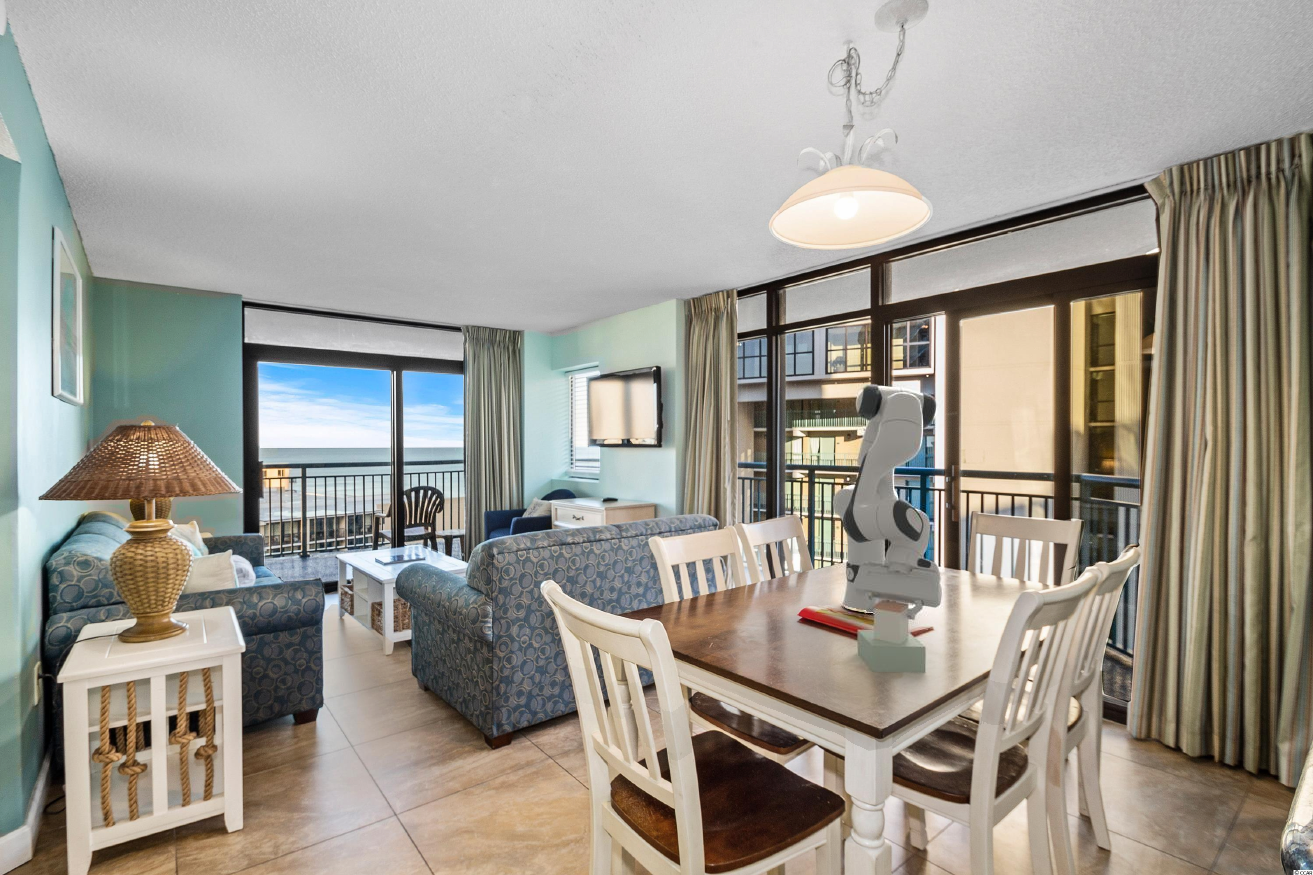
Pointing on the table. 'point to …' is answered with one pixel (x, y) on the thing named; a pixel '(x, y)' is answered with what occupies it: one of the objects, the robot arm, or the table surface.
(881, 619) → the white brown-topped block
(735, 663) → the table surface
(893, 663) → the green box
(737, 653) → the table surface
